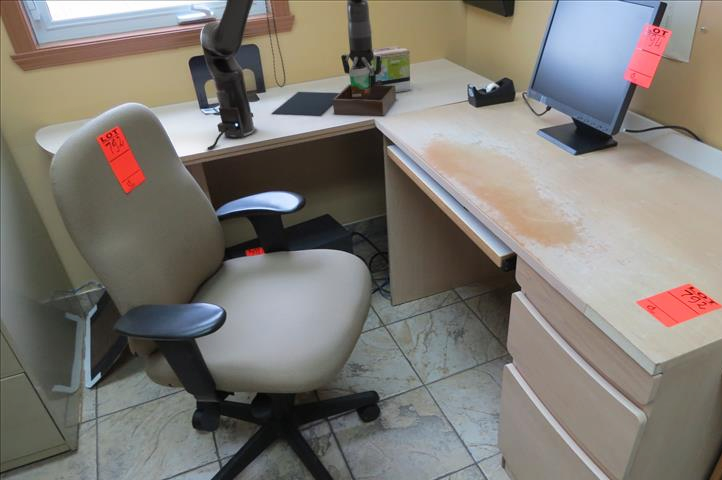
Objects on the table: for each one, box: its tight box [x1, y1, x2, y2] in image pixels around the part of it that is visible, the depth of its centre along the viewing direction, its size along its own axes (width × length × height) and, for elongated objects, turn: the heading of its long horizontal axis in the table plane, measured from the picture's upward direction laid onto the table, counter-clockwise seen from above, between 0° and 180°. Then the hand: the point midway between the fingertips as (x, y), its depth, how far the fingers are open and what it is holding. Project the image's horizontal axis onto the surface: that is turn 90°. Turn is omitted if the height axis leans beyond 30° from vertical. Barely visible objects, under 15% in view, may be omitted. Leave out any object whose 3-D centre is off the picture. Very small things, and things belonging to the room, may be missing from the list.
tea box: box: [370, 45, 411, 93], centre depth 206 cm, size 15×10×15 cm, turn 114°
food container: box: [348, 66, 370, 100], centre depth 191 cm, size 12×6×10 cm, turn 168°
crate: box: [332, 83, 397, 117], centre depth 195 cm, size 18×18×5 cm
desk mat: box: [271, 91, 340, 117], centre depth 202 cm, size 24×18×1 cm
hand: (363, 85), depth 192 cm, fingers closed on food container, 6 cm apart
